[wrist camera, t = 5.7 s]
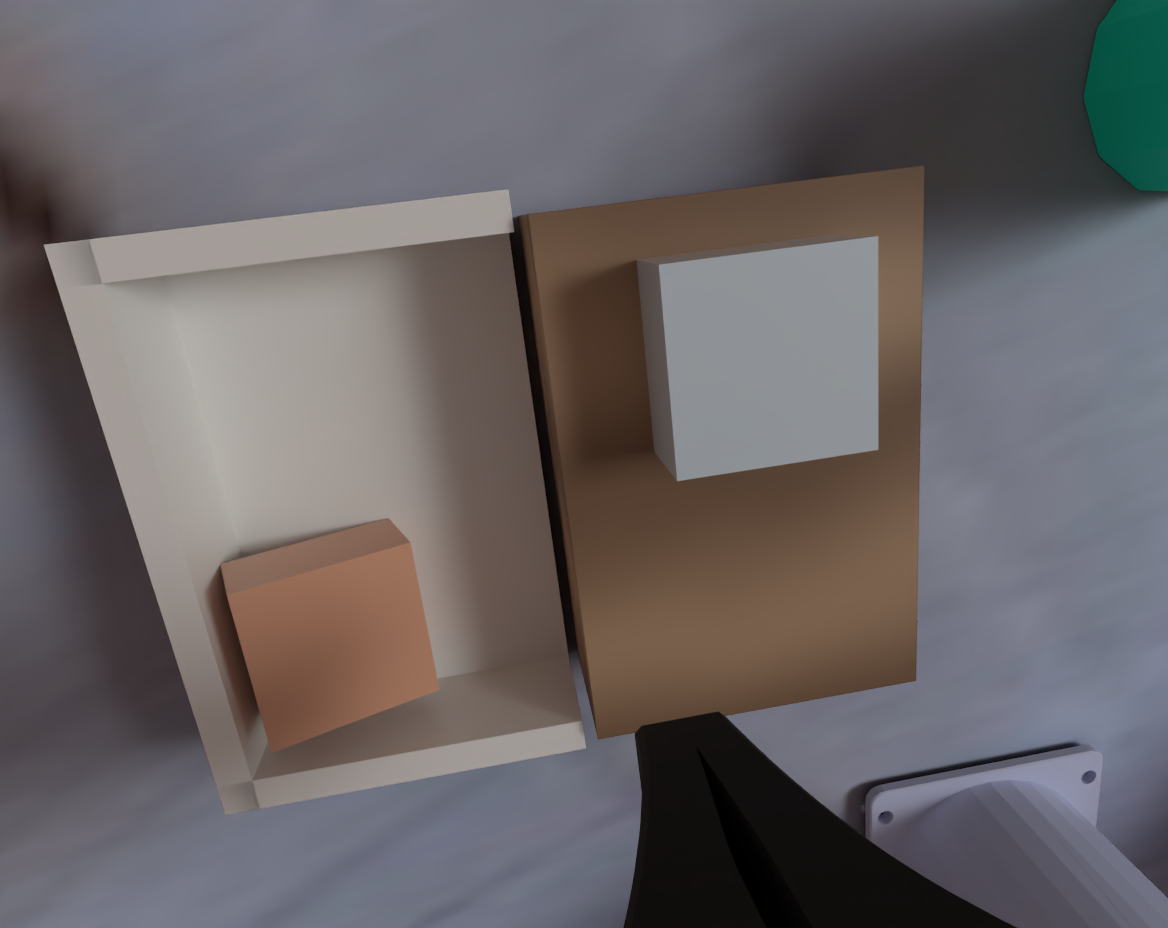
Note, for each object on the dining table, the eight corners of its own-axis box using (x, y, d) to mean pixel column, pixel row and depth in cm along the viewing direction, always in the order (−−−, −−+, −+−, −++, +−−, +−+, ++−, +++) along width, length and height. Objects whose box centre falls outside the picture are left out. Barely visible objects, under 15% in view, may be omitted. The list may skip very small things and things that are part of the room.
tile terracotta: (271, 753, 18) (261, 709, 19) (439, 689, 19) (416, 655, 21) (227, 595, 16) (220, 564, 18) (410, 542, 18) (388, 518, 20)
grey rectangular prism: (833, 425, 17) (878, 450, 15) (654, 451, 17) (677, 480, 15) (830, 234, 16) (878, 236, 14) (636, 259, 15) (658, 264, 13)
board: (843, 605, 23) (915, 680, 19) (577, 651, 22) (598, 739, 19) (836, 177, 19) (924, 165, 16) (518, 216, 19) (528, 213, 15)
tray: (569, 668, 22) (586, 748, 19) (265, 722, 22) (225, 814, 18) (502, 195, 18) (508, 189, 15) (127, 240, 18) (44, 244, 14)
